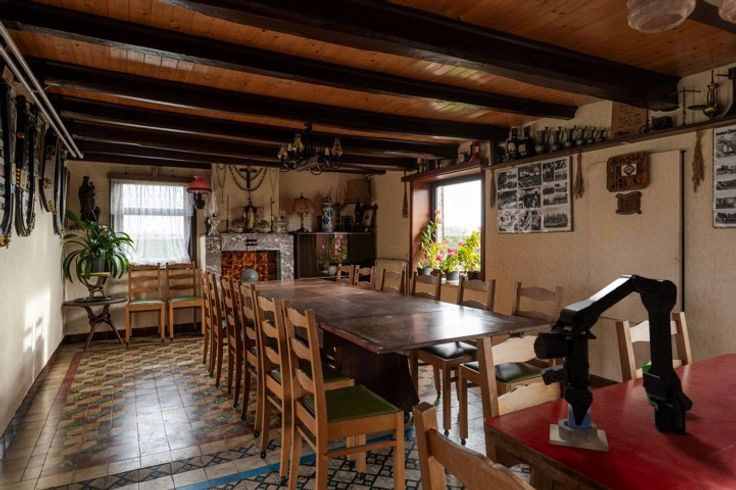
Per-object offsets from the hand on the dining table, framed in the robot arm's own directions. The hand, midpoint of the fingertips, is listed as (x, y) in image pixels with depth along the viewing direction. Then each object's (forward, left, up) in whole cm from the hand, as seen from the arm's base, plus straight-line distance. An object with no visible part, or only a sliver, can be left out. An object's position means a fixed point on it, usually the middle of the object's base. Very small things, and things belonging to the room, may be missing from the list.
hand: (577, 419), depth 118 cm
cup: (-24, -37, -5) cm, 44 cm away
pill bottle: (0, 0, -4) cm, 4 cm away
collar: (0, 0, -5) cm, 5 cm away
